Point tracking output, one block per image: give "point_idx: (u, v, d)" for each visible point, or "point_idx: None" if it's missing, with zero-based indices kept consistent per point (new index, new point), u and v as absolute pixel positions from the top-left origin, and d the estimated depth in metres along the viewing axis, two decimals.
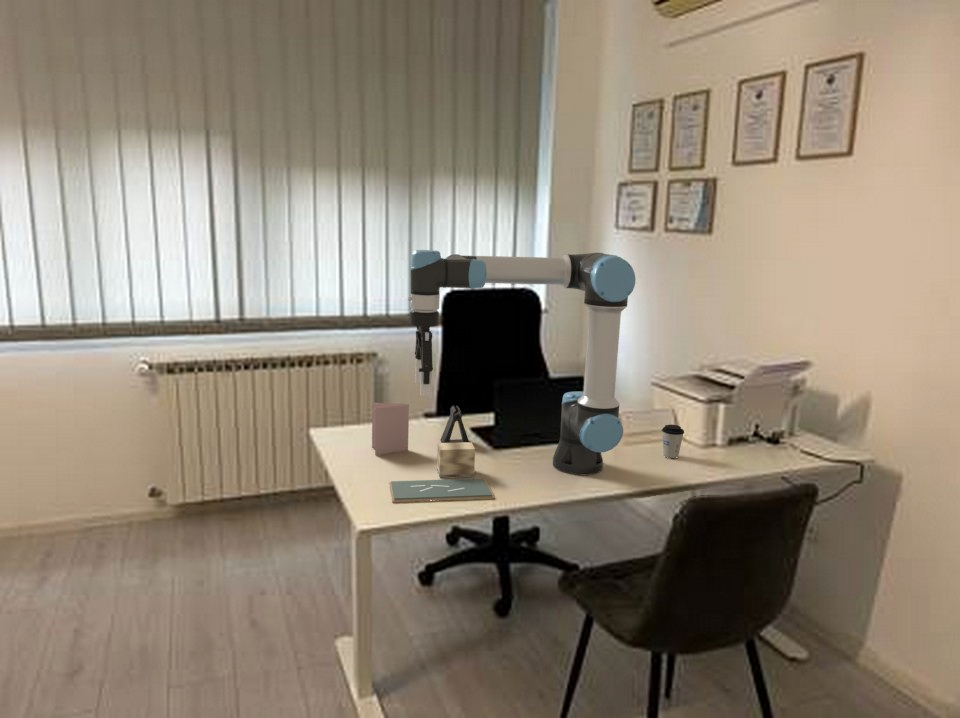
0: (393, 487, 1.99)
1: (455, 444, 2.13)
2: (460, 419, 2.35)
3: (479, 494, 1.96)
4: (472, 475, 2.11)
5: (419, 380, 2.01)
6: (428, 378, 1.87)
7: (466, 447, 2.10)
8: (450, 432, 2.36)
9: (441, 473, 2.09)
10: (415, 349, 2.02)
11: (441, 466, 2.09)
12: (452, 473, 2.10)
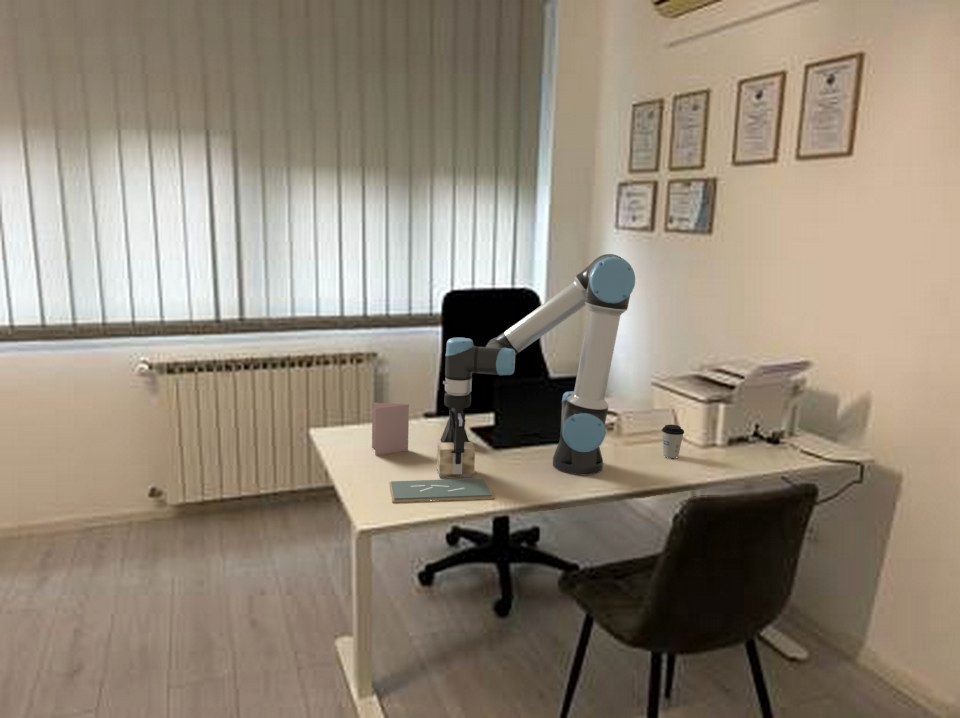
0: (393, 487, 1.99)
1: None
2: None
3: (479, 494, 1.96)
4: (472, 475, 2.11)
5: None
6: (460, 459, 2.07)
7: (466, 447, 2.10)
8: None
9: (441, 473, 2.09)
10: (449, 433, 2.17)
11: (441, 466, 2.09)
12: None
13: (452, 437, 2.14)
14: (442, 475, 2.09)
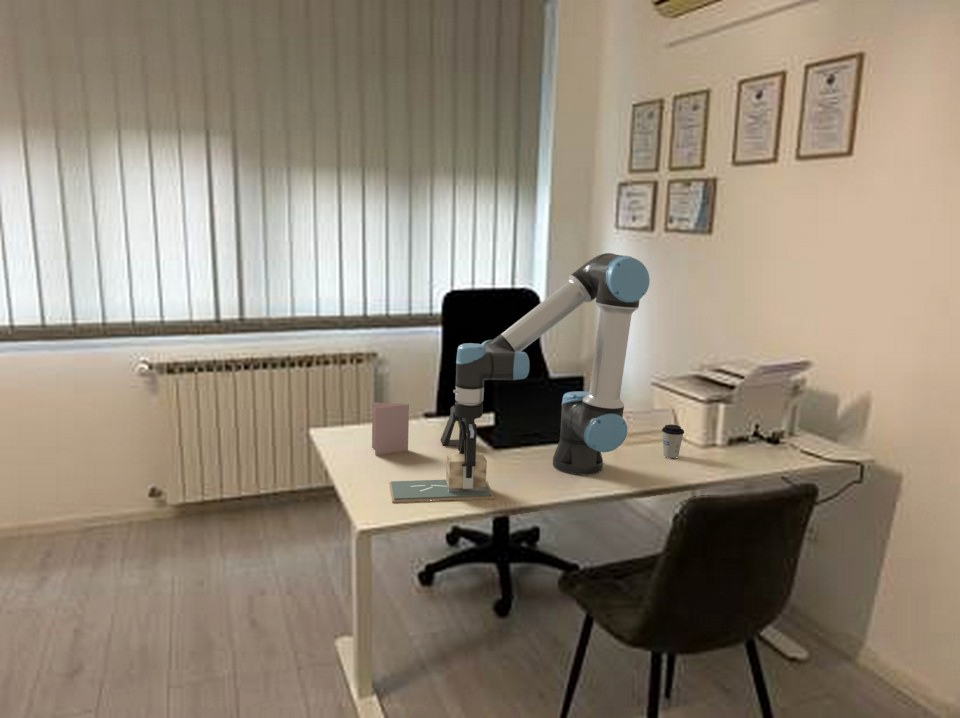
0: (393, 487, 1.99)
1: None
2: None
3: (479, 494, 1.96)
4: (483, 488, 1.99)
5: None
6: (471, 472, 1.95)
7: (477, 459, 1.98)
8: (450, 432, 2.36)
9: (451, 486, 1.97)
10: None
11: (451, 479, 1.96)
12: (462, 486, 1.97)
13: (462, 449, 2.02)
14: (452, 489, 1.97)
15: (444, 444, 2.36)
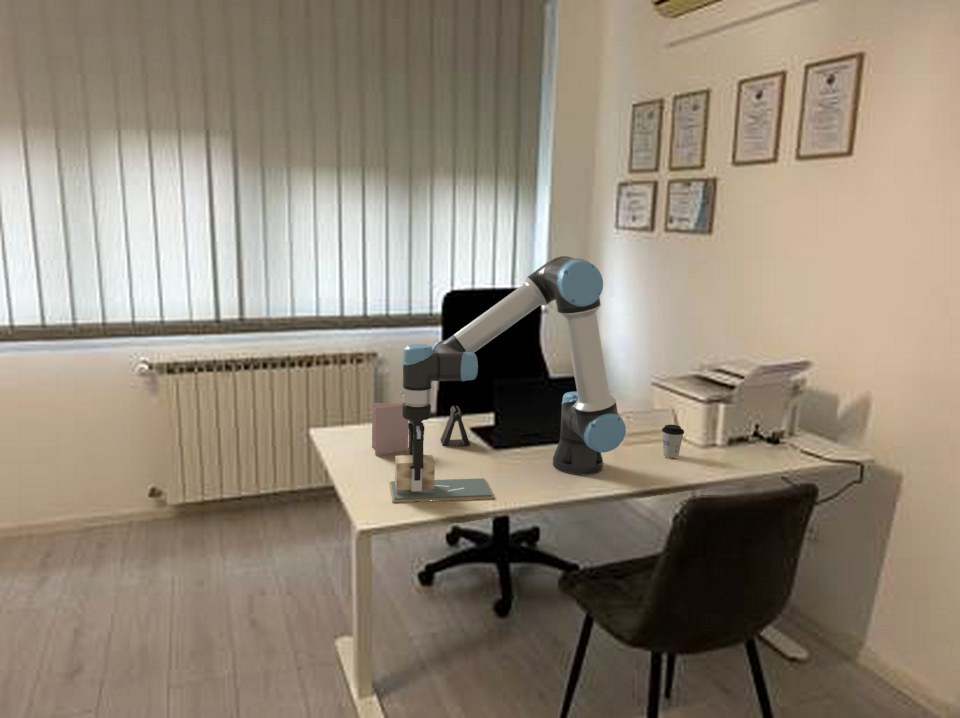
0: (393, 487, 1.99)
1: None
2: (460, 419, 2.35)
3: (479, 494, 1.96)
4: (432, 490, 1.96)
5: None
6: (419, 475, 1.92)
7: (426, 460, 1.95)
8: (450, 432, 2.36)
9: (398, 488, 1.94)
10: None
11: (398, 481, 1.94)
12: (410, 488, 1.95)
13: (411, 449, 2.00)
14: (399, 491, 1.94)
15: (444, 444, 2.36)
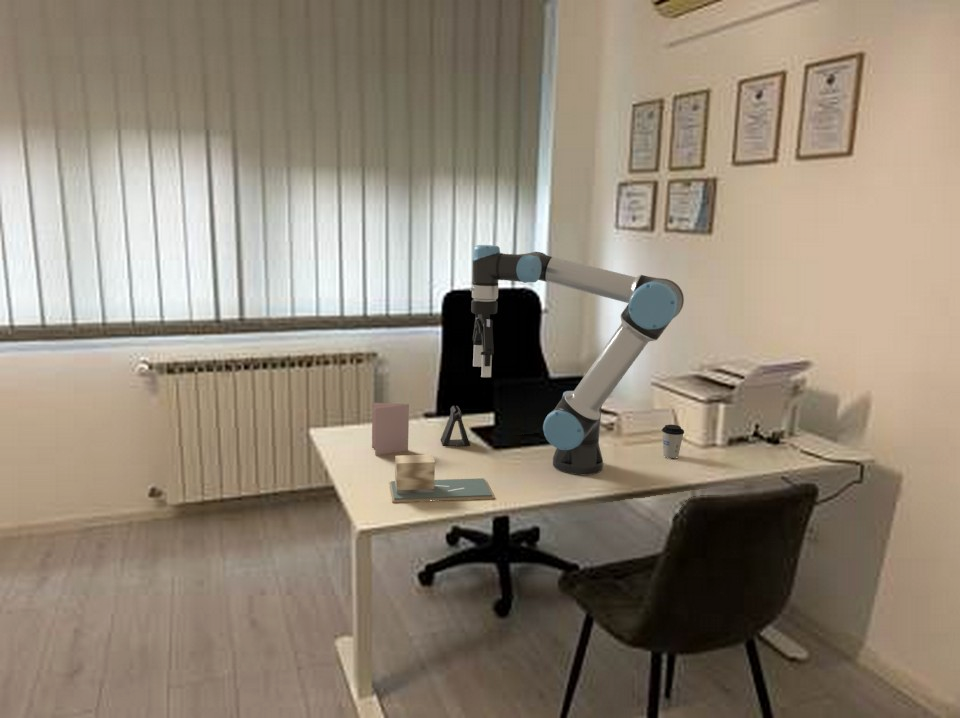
0: (393, 487, 1.99)
1: (414, 457, 1.98)
2: (460, 419, 2.35)
3: (479, 494, 1.96)
4: (432, 490, 1.96)
5: (477, 364, 2.21)
6: (489, 361, 2.07)
7: (426, 460, 1.95)
8: (450, 432, 2.36)
9: (398, 488, 1.94)
10: (473, 335, 2.22)
11: (398, 481, 1.94)
12: (410, 488, 1.95)
13: (476, 340, 2.20)
14: (399, 491, 1.94)
15: (444, 444, 2.36)
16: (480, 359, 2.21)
